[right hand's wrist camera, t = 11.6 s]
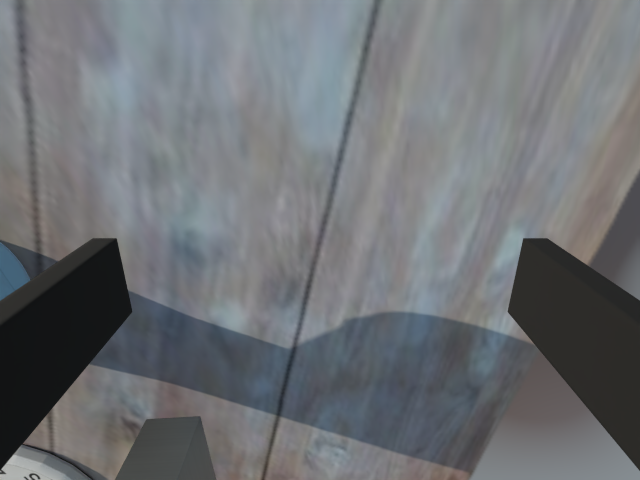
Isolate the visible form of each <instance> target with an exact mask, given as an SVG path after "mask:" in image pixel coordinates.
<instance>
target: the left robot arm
mask: <svg viewBox="0 0 640 480" xmlns="http://www.w3.org/2000/svg"><path fill="white" fill-rule="evenodd" d="M29 281H30V278H29V276H28V274H27V272H26V270H25V268H24V267H23V265H22V264H21V263H20V261H19V260H18V259H17V257H16V256H15V255H14V254H13V253H12V252H11V251H10V250H9V249H8V248H7V247H6V246H5V245H4V244H2V243H1V242H0V301H1V300H2V299H3V298H5V297H6V296H8V295H9V294H11V293H12V292H14V291H15V290H17V289H18V288H20V287H21V286H23V285H24V284H26V283H27V282H29Z"/></svg>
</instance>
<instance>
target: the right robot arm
mask: <svg viewBox="0 0 640 480" xmlns="http://www.w3.org/2000/svg"><path fill="white" fill-rule="evenodd" d="M131 313H132V308H131V303H130V299H129V294H128V289H127V285H126V280H125V275H124V271H123V266H122V261H121V257H120V252H119V247H118V243H117V238H93V239H91V240H90V241H88V242H87V243H85V244H84V245H82V246H81V247H79V248H78V249H76V250H75V251H73V252H72V253H70V254H69V255H68V256H66V257H65V258H63V259H62V260H60V261H59V262H57V263H56V264H54V265H53V266H51V267H50V268H48V269H47V270H45V271H44V272H42V273H41V274H39V275H38V276H36V277H35V278H33V279H32V280H30V281H29V282H27V283H26V284H24V285H23V286H21V287H20V288H18V289H17V290H15V291H14V292H12V293H11V294H9V295H8V296H6V297H5V298H3V299H2V300H1V301H0V470H1V469H2V468H3V467H4V466H5V464H6V463H7V462H8V461H9V459H10V458H11V457H12V456H13V455H14V453H15V452H16V451H17V450H18V449H19V447H20V446H21V445H22V444H23V443H24V441H25V440H26V439H27V438H28V437H29V435H30V434H31V433H32V432H33V431H34V429H35V428H36V427H37V426H38V425H39V423H40V422H41V421H42V420H43V419H44V417H45V416H46V415H47V414H48V413H49V411H50V410H51V409H52V408H53V407H54V405H55V404H56V403H57V402H58V401H59V399H60V398H61V397H62V396H63V395H64V393H65V392H66V391H67V390H68V388H69V387H70V386H71V385H72V384H73V382H74V381H75V380H76V379H77V378H78V376H79V375H80V374H81V373H82V372H83V370H84V369H85V368H86V367H87V366H88V364H89V363H90V362H91V361H92V360H93V358H94V357H95V356H96V355H97V354H98V352H99V351H100V350H101V349H102V348H103V346H104V345H105V344H106V343H107V342H108V340H109V339H110V338H111V337H112V336H113V334H114V333H115V332H116V331H117V330H118V328H119V327H120V326H121V325H122V324H123V322H124V321H125V320H126V319H127V318H128V316H129V315H130V314H131ZM508 313H509V314H510V315H511V316H512V318H513V319H514V320H515V321H516V322H517V324H518V325H519V326H520V327H521V328H522V330H523V331H524V332H525V333H526V334H527V336H528V337H529V338H530V339H531V340H532V342H533V343H534V344H535V345H536V346H537V348H538V349H539V350H540V351H541V352H542V354H543V355H544V356H545V357H546V358H547V360H548V361H549V362H550V363H551V364H552V366H553V367H554V368H555V369H556V370H557V372H558V373H559V374H560V375H561V376H562V378H563V379H564V380H565V381H566V382H567V384H568V385H569V386H570V387H571V388H572V390H573V391H574V392H575V393H576V394H577V396H578V397H579V398H580V399H581V401H582V402H583V403H584V404H585V405H586V407H587V408H588V409H589V410H590V411H591V413H592V414H593V415H594V416H595V417H596V419H597V420H598V421H599V422H600V423H601V425H602V426H603V427H604V428H605V429H606V431H607V432H608V433H609V434H610V435H611V437H612V438H613V439H614V440H615V441H616V443H617V444H618V445H619V446H620V447H621V449H622V450H623V451H624V452H625V453H626V455H627V456H628V457H629V458H630V459H631V461H632V462H633V463H634V464H635V466H636V467H637V468H638V469H639V470H640V301H639V300H638V299H636V298H635V297H634V296H632V295H631V294H629V293H628V292H626V291H625V290H623V289H622V288H620V287H619V286H617V285H616V284H614V283H613V282H611V281H610V280H608V279H607V278H605V277H604V276H602V275H601V274H599V273H598V272H596V271H595V270H593V269H592V268H590V267H589V266H587V265H586V264H584V263H583V262H581V261H580V260H578V259H577V258H575V257H574V256H572V255H571V254H570V253H568V252H567V251H565V250H564V249H562V248H561V247H559V246H558V245H556V244H555V243H553V242H552V241H550V240H549V239H547V238H523V243H522V247H521V252H520V257H519V261H518V266H517V271H516V275H515V280H514V285H513V289H512V294H511V299H510V303H509V308H508Z"/></svg>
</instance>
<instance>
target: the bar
mask: <svg viewBox="0 0 640 480" xmlns="http://www.w3.org/2000/svg"><path fill="white" fill-rule="evenodd" d="M115 480H216V477H215V473H214V469H213V465H212V461H211V457H210V453H209V449H208V445H207V441H206V437H205V433H204V429H203V425H202V421H201V417H200V416H198V417H179V418H161V419H147V420H146V421H145V423H144V425H143V427H142V429H141V431H140V433H139V435H138V437H137V439H136V440H135V442H134V444H133V446H132V448H131V450H130V452H129V454H128V456H127V458H126V460H125V462H124V464H123V465H122V467H121V469H120V471H119V473H118V475H117V477H116V479H115Z"/></svg>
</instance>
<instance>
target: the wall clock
mask: <svg viewBox="0 0 640 480" xmlns="http://www.w3.org/2000/svg"><path fill="white" fill-rule="evenodd" d="M0 480H92V479H90V478H89V477H88V476H86V475H85V474H84V473H82V472H81V471H80V470H79V469H77V468H76V467H75V466H73V465H72V464H70V463H68V462H66V461H64V460H62V459H60V458H58V457H56V456H54V455H52V454H50V453H47V452H44V451H41V450H37V449H34V448H31V447H28V446H24V445H21V446H20V447H19V449H18V450H17V451H16V452H15V453H14V455H13V456H12V457H11V458H10V459H9V461H8V462H7V463H6V464H5V466H4V467H3V468H2V469H1V470H0Z"/></svg>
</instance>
